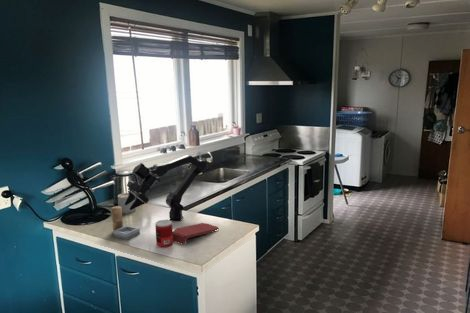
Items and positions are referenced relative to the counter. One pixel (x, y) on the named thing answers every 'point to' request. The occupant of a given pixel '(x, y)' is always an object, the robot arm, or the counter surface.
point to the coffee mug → (121, 202)
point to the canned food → (164, 233)
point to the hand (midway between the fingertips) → (127, 207)
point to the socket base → (126, 232)
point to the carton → (192, 231)
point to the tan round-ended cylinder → (117, 217)
